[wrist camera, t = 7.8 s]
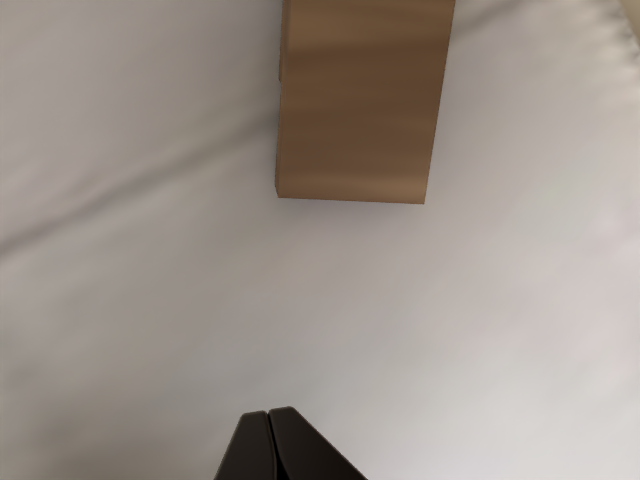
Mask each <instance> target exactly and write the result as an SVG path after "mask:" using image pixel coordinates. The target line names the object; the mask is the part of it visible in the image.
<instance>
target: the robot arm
mask: <svg viewBox="0 0 640 480" xmlns="http://www.w3.org/2000/svg"><path fill="white" fill-rule="evenodd" d="M214 480H368V479H367V478H366V477H365V476H364V475H363V474H362V473H361V472H360V471H358V470H357V469H356V468H355V467H354V466H353V465H352V464H351V463H350V462H349V461H348V460H347V459H346V458H345V457H344V456H343V455H342V454H341V453H340V452H339V451H338V450H337V449H336V448H335V447H334V446H333V445H332V444H331V443H330V442H329V441H328V440H327V439H326V438H324V437H323V436H322V435H321V434H320V433H319V432H318V431H317V430H316V429H315V428H314V427H313V426H312V425H311V424H310V423H309V422H308V421H307V420H306V419H305V418H304V417H303V416H302V415H301V414H300V413H299V412H298V411H297V410H296V409H295V408H293V407H291V406H288V407H282V408H275V409H271V410H269V412H268V414H267V412H266V411H263V410H262V411H256V412H250V413H244V414H243V415H242V416H241V417H240V420H239V422H238V424H237V427H236V429H235V431H234V433H233V436H232V438H231V440H230V443H229V445H228V447H227V450H226V452H225V454H224V457H223V459H222V461H221V464H220V466H219V468H218V471H217V473H216V475H215V478H214Z"/></svg>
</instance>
